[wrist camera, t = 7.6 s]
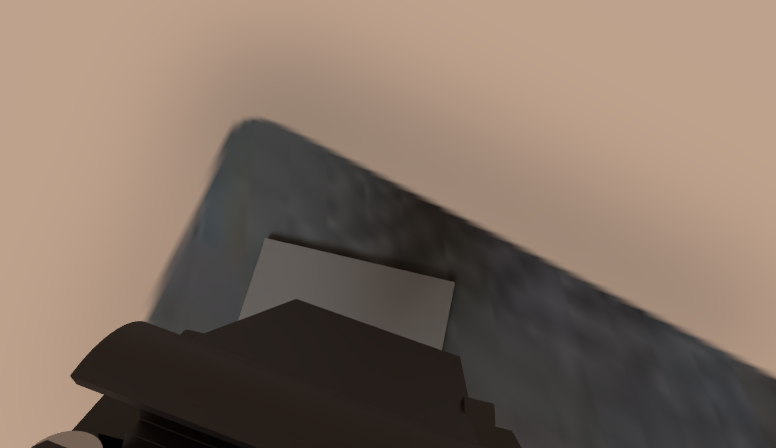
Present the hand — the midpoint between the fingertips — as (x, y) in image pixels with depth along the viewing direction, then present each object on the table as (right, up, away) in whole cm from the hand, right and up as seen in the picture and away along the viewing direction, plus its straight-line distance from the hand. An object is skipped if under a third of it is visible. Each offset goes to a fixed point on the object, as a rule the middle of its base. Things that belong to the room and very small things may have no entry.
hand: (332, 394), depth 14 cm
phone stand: (-1, -4, +5) cm, 6 cm away
